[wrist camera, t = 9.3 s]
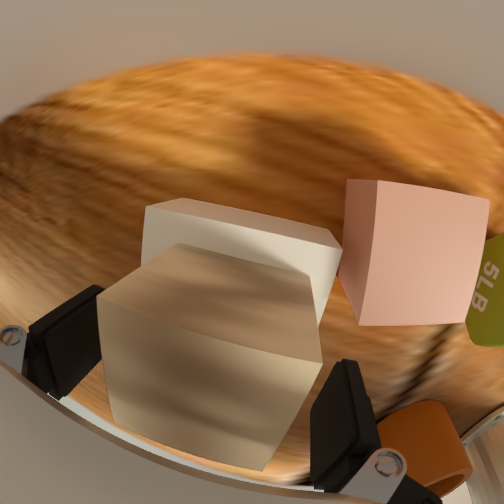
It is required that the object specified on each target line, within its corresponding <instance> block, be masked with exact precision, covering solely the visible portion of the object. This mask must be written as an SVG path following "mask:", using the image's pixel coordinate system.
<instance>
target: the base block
mask: <svg viewBox="0 0 504 504" xmlns="http://www.w3.org/2000/svg"><path fill="white" fill-rule="evenodd" d="M178 242H179V243H182V244H186V245H190V246H194V247H198V248H201V249H205V250H209V251H213V252H217V253H221V254H225V255H228V256H232V257H236V258H240V259H244V260H248V261H252V262H256V263H260V264H263V265H267V266H271V267H275V268H279V269H283V270H287V271H291V272H295V273H299V274H303V275H307V276H310V281H311V287H312V293H313V299H314V305H315V311H316V318H317V324H318V326H319V323H320V320H321V318H322V315H323V312H324V309H325V306H326V303H327V300H328V297H329V294H330V291H331V288H332V285H333V282H334V279H335V276H336V272H337V269H338V266H339V262H340V259H341V256H342V252H343V249H342V248H341V246H340V245H339V243H338V242H337V241H336V239H335V238H334V236H333V235H332V233H331V232H330V231H329V229H325V228H321V227H317V226H313V225H309V224H305V223H301V222H297V221H292V220H288V219H284V218H279V217H275V216H270V215H266V214H262V213H257V212H252V211H248V210H243V209H238V208H234V207H229V206H224V205H219V204H214V203H209V202H204V201H199V200H194V199H189V198H179V199H174V200H170V201H165V202H161V203H157V204H153V205H149V206H146V209H145V218H144V228H143V240H142V254H141V266H142V265H144V264H145V263H147V262H148V261H150V260H151V259H153V258H155V257H156V256H158V255H159V254H161V253H162V252H164V251H166V250H167V249H169V248H170V247H172V246H174V245H175V244H177V243H178Z"/></svg>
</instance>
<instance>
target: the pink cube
mask: <svg viewBox="0 0 504 504" xmlns="http://www.w3.org/2000/svg"><path fill="white" fill-rule="evenodd" d="M489 204H490V200H488V199H484V198H479V197H475V196H470V195H466V194H461V193H456V192H451V191H446V190H440V189H435V188H429V187H423V186H417V185H410V184H403V183H396V182H389V181H381V180H366V179H346V197H345V212H344V225H343V237H342V247H341V248H342V249H343V252H342V256H341V259H340V265H339V273H338V278H339V280H340V283H341V285H342V287H343V290H344V292H345V294H346V297H347V299H348V301H349V304H350V306H351V309H352V311H353V314H354V316H355V318H356V321H357V323H358V326H400V325H429V324H447V323H461V322H465V319H466V316H467V313H468V310H469V306H470V303H471V300H472V296H473V293H474V289H475V285H476V281H477V277H478V273H479V269H480V264H481V259H482V254H483V249H484V243H485V237H486V230H487V223H488V214H489Z"/></svg>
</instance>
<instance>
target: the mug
mask: <svg viewBox="0 0 504 504" xmlns="http://www.w3.org/2000/svg"><path fill="white" fill-rule="evenodd" d="M377 428H378V433H379V437H380V441H381V446H382V448H392V449H394V450H397V451H398V452H400V453H401V454H402V455H403V457H404V458H405V460H406V462H407V471H406V473H405V474H406V475H408V476H409V477H411V478H412V479H414V480H415V481H417V482H418V483H420V484H421V485H423V486H424V487H426V488H427V489H429V490H430V491H432V492H434V493H435V494H437V495H438V496H439V497H440V498H442V497H444V496H445V495H447V494H449V493H450V492H452V491H453V490H455V489H456V488H457V487H459V486H460V485H461V484H463V483H464V482H465V481H466V480H467V479H468V478H469V477H470V475H471V474H472V473H473V468H472V465H471V463H470V460H469V458H468V455H467V453H466V451H465V449H464V446H463V444H462V442H461V440H460V437H459V435H458V433H457V431H456V429H455V427H454V425H453V423H452V421H451V419H450V417H449V415H448V413H447V411H446V409H445V407H444V405H443V404H442V403H440V402H439V401H434V400H426V401H421V402H416V403H414V404H411V405H409V406H406V407H403V408H401V409H400V410H398V411H396V412H394V413H392V414H390V415H389V416H388V417H386V418H385V419H384V420H382V421H381V422H379V423H378V424H377Z"/></svg>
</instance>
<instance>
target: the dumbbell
mask: <svg viewBox="0 0 504 504" xmlns="http://www.w3.org/2000/svg"><path fill="white" fill-rule="evenodd" d="M465 321H466V326H467V329H468V333H469V336H470V338H471V340H472V341H473V343H475V344H476V345H479V346H483V347H504V233H502V234H499V235H497V236H495V237H492V238H490V239H488V240H486V241H485V243H484V249H483V254H482V259H481V264H480V269H479V273H478V277H477V281H476V285H475V289H474V293H473V296H472V300H471V303H470V306H469V310H468V313H467V316H466V319H465Z"/></svg>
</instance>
